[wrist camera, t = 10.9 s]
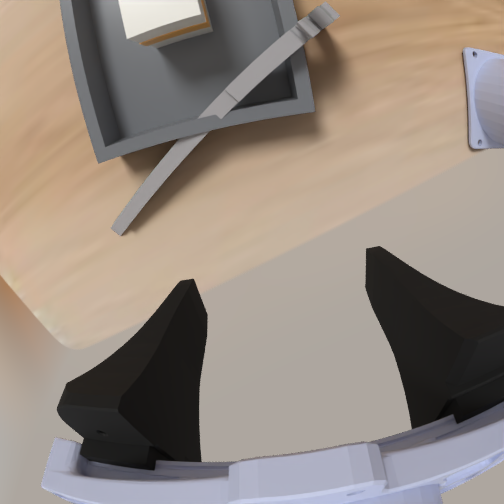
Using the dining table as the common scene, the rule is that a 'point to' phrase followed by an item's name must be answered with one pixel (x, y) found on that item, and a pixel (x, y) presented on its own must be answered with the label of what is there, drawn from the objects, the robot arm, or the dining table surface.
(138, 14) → the white block
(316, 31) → the caliper
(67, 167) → the dining table surface
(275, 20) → the tray
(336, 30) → the dining table surface
